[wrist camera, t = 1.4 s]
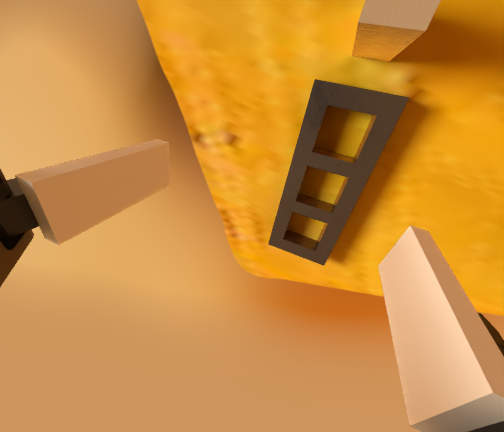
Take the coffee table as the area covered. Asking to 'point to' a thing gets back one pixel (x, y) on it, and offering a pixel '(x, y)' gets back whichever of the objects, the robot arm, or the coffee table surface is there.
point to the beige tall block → (391, 26)
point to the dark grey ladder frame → (332, 166)
